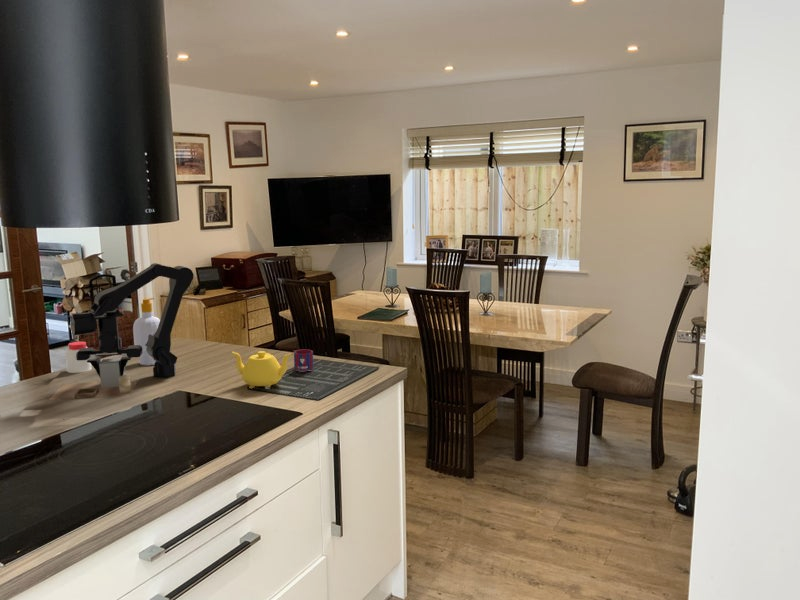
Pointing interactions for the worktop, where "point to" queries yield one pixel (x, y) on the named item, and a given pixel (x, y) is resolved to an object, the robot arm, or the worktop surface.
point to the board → (88, 390)
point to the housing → (110, 372)
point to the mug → (303, 360)
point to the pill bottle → (72, 362)
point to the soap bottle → (145, 331)
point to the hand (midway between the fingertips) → (112, 378)
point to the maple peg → (124, 384)
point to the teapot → (261, 369)
